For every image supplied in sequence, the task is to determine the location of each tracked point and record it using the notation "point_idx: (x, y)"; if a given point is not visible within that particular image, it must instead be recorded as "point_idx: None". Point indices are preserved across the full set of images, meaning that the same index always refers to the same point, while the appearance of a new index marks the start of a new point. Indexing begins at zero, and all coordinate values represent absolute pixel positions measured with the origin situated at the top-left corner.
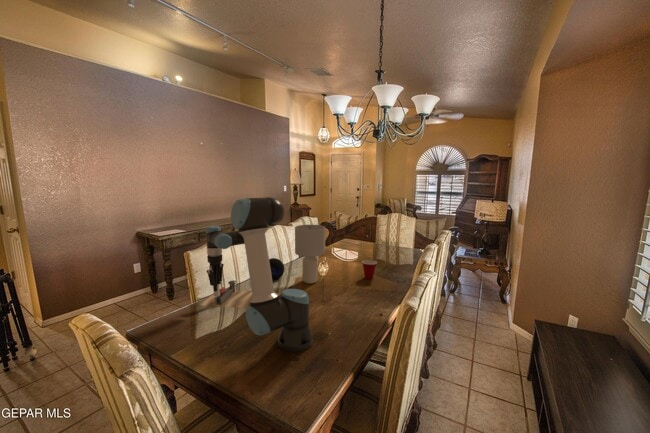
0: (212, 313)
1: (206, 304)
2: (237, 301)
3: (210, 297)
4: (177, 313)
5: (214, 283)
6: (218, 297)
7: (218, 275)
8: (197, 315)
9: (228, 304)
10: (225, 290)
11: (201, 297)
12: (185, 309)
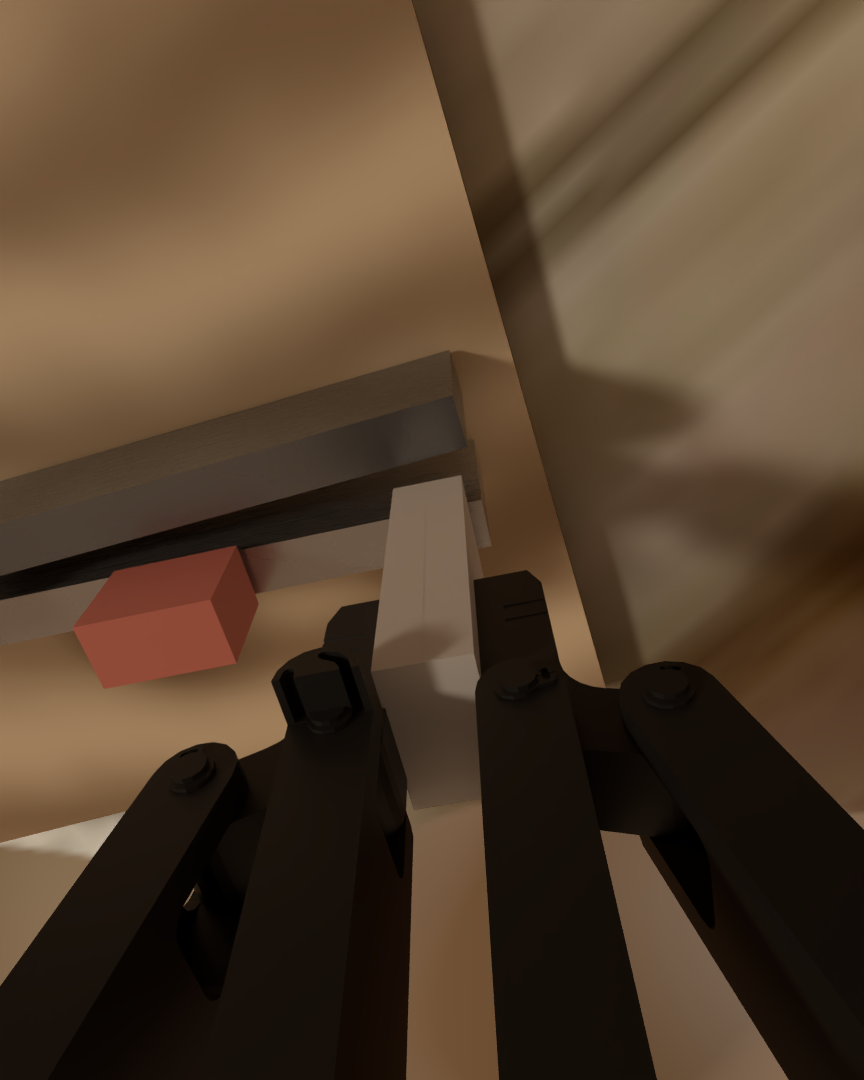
0: (722, 303)
1: None
2: (128, 127)
3: None
4: (858, 781)
5: (723, 726)
6: None
7: (336, 1042)
8: (856, 492)
9: (352, 220)
10: (69, 602)
11: None
12: None
